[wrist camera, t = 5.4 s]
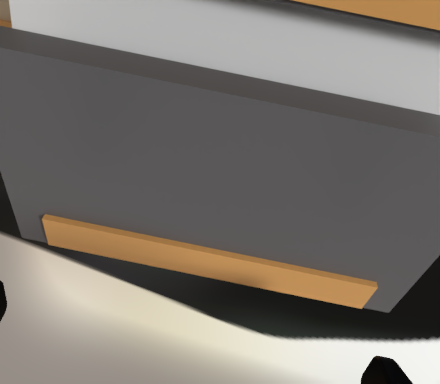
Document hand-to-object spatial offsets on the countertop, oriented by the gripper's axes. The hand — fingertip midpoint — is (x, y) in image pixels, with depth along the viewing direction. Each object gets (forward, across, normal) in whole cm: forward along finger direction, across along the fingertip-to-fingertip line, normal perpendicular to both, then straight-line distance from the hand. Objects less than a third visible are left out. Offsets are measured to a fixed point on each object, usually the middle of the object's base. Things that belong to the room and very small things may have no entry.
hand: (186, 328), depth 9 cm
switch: (+3, 0, -2) cm, 4 cm away
